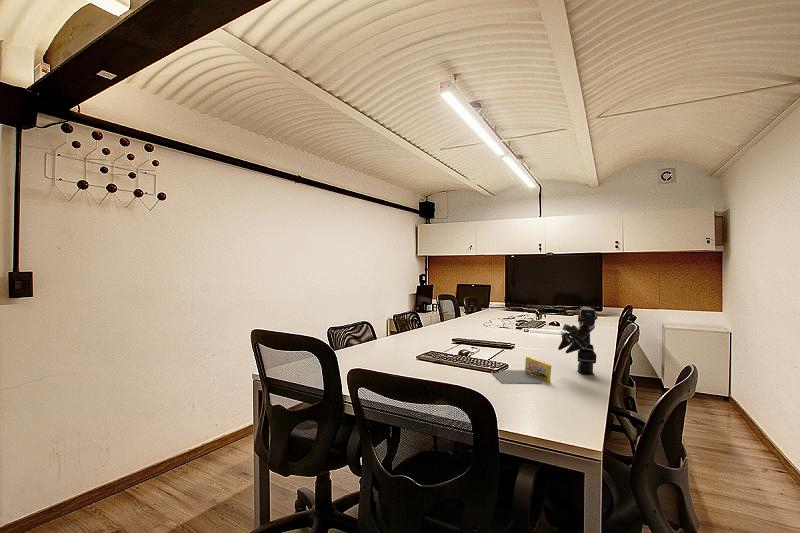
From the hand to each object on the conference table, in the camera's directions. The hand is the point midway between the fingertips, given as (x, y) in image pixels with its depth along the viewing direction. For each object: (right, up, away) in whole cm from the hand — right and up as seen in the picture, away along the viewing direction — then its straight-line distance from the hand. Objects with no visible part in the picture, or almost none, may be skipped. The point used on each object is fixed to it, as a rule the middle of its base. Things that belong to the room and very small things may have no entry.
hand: (562, 351), depth 201 cm
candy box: (-13, -13, -1) cm, 19 cm away
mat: (-25, -13, -1) cm, 29 cm away
